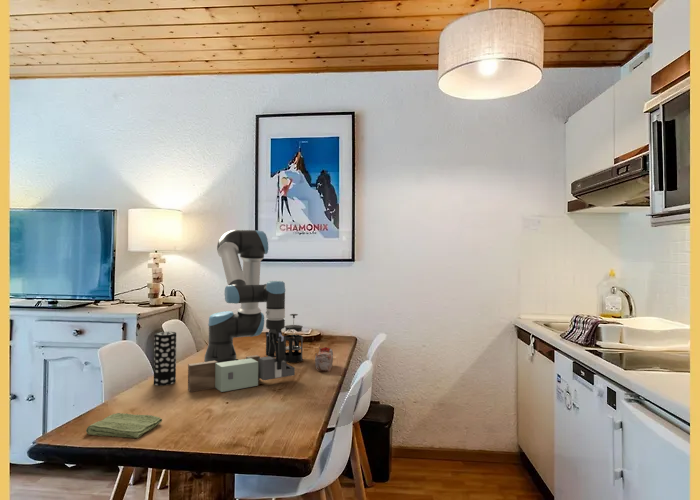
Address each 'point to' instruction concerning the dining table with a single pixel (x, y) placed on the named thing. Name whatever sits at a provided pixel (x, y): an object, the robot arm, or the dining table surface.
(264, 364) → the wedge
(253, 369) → the pale green box
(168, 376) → the spotted tube
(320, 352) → the food item
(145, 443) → the dining table surface
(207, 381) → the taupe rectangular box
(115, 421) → the washcloth
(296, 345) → the french press
